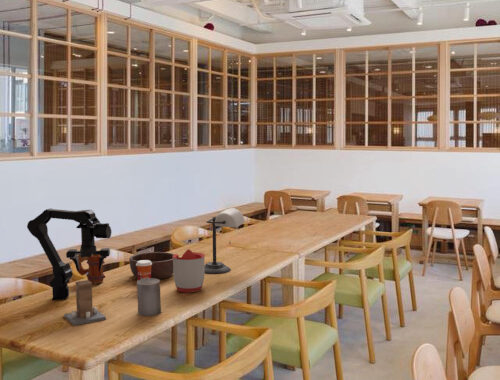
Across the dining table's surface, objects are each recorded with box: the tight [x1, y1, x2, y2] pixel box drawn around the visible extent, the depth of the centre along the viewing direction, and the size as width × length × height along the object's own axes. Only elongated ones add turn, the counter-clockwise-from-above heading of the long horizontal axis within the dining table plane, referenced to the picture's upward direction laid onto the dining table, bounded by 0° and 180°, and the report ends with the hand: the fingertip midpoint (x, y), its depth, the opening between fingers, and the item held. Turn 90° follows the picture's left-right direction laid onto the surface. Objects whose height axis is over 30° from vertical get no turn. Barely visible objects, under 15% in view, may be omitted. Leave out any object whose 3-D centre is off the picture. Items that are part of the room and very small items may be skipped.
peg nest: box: [64, 306, 107, 326], centre depth 234 cm, size 13×13×4 cm
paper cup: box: [136, 260, 152, 281], centre depth 274 cm, size 8×8×14 cm
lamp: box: [204, 207, 246, 275], centre depth 311 cm, size 26×24×34 cm
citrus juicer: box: [172, 248, 206, 294], centre depth 275 cm, size 16×17×20 cm
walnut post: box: [75, 279, 94, 318], centre depth 233 cm, size 5×5×14 cm
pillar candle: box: [136, 278, 162, 317], centre depth 240 cm, size 10×10×15 cm
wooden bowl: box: [128, 251, 175, 280], centre depth 302 cm, size 25×25×10 cm
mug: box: [74, 255, 106, 285], centre depth 288 cm, size 15×8×15 cm, turn 92°
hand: (89, 271), depth 259 cm, fingers open, 9 cm apart
